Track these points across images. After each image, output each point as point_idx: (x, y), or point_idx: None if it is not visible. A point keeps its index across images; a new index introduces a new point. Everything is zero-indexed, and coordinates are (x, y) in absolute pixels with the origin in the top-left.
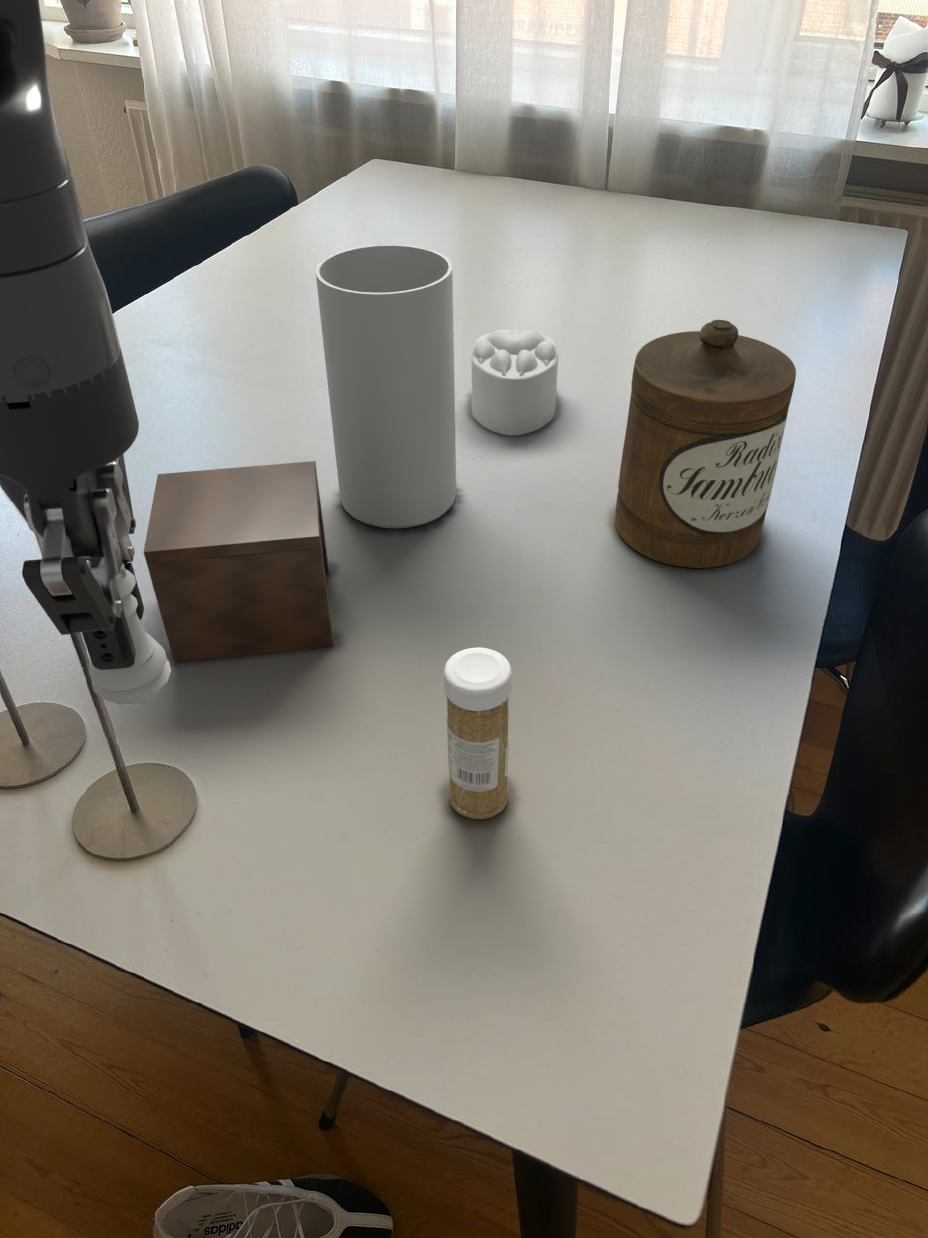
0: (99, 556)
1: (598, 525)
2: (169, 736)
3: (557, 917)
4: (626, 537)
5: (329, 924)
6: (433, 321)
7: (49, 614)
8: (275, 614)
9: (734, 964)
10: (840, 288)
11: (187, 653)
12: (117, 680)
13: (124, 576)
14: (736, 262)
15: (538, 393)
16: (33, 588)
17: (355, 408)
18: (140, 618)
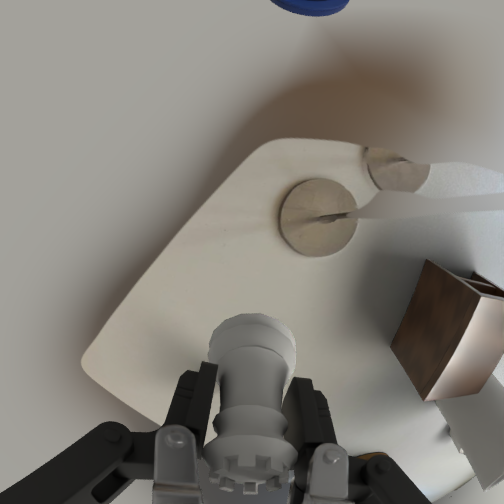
0: (306, 473)
1: (383, 447)
2: (370, 247)
3: (175, 386)
4: (367, 456)
5: (196, 307)
6: (478, 477)
7: (56, 458)
8: (415, 336)
9: (147, 416)
10: (425, 495)
11: (426, 270)
12: (212, 356)
13: (240, 483)
14: (460, 475)
15: (456, 443)
16: (2, 496)
17: (488, 415)
18: (282, 405)
